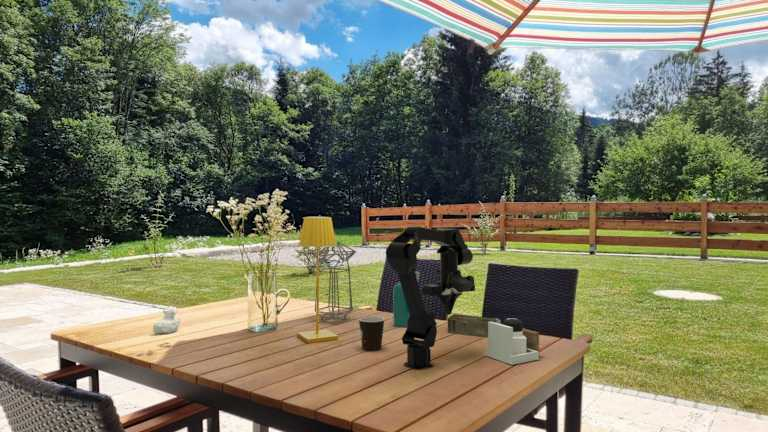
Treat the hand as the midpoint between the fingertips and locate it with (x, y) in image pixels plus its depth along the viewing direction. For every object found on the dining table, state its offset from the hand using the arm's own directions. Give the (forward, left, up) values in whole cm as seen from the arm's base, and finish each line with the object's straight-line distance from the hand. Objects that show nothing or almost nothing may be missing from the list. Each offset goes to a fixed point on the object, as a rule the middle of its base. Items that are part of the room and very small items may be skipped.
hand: (448, 314), depth 162 cm
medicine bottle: (+14, -15, -13) cm, 24 cm away
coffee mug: (-16, +21, -13) cm, 30 cm away
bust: (-69, +84, -13) cm, 110 cm away
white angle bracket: (+14, -15, -13) cm, 24 cm away
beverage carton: (+27, +15, -14) cm, 34 cm away
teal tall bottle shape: (+14, +41, -13) cm, 45 cm away
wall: (+20, -15, -13) cm, 29 cm away
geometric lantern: (-7, +65, -13) cm, 67 cm away
